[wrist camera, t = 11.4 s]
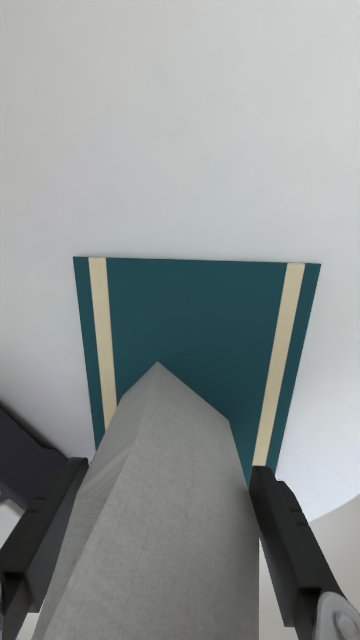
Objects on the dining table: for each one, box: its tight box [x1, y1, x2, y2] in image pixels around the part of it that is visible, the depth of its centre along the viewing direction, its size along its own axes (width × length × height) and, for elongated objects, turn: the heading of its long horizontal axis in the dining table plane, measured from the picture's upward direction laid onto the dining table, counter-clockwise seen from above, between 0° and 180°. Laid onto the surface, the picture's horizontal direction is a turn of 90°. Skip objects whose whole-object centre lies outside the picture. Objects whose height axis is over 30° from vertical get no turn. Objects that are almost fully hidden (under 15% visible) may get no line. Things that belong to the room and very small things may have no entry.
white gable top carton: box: [31, 361, 259, 640], centre depth 9 cm, size 4×7×10 cm, turn 47°
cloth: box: [73, 257, 321, 488], centre depth 14 cm, size 14×18×1 cm
